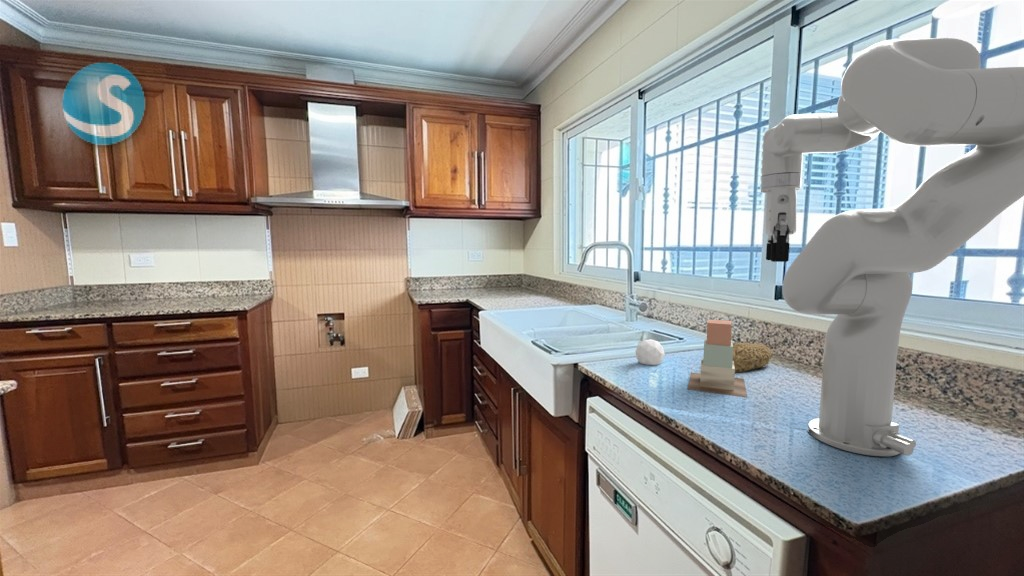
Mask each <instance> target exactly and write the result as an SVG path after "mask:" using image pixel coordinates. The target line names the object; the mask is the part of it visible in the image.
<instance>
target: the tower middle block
mask: <svg viewBox="0 0 1024 576" xmlns="http://www.w3.org/2000/svg"><path fill="white" fill-rule="evenodd" d="M702 358H703V365H706V366H716V367H725V368H732V363H733V341H732V340H731V346H724V345H713V344H707V338H704V342H703V357H702Z"/></svg>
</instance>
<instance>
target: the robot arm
mask: <svg viewBox="0 0 1024 576" xmlns="http://www.w3.org/2000/svg"><path fill="white" fill-rule="evenodd" d="M981 62H982V61H981V55H980V52H979V51H978V50H977V48H976V47H975V46H974V45H973V44H972V43H970V42H969V41H966V40H963V39H959V38H953V37H932V38H930V37H929V38H928V37H927V38H900V39H886V40H882V41H879V42H877V43H874V44H872V45H870V46H868V47H867V48H865V49H864V50H862V51H861V52H860V53H859V54H857V56H856V57H855V58H854V59H852V61H851V62H850V63H849V65H847V68H846V69H845V72H844V74H843V76H842V79H841V84H840V93H841V94H840V96H839V98H838V101H837V104H836V105H837V107H836V112H831V113H830V112H827V113H825V112H823V113H800V114H799V113H798V114H791V115H788V116H786V117H784V118H783V119H781V121H780V122H778V124H777V125H776V126H774V127H771V128H769V129H767V130H766V131H765V133H764V134H763V139H762V140H763V142H762V144H763V145H762V158H761V159H762V160H761V161H762V162H761V178H760V180H761V183H760V193H762V194H763V193H764V194H766V199H765V234H766V235H767V243H766V250H765V251H766V254H765V259H766V260H767V261H771V262H775V263H777V262H778V263H783V262H785V263H787V262H789V260H790V259H789V258H790V257H789V256H790V235H795V233H796V232H797V205H798V204H797V191H800V190H801V189H802V179H803V176H802V174H803V162H804V154H835V153H841V152H844V151H848V150H851V149H854V148H857V147H859V146H863V145H865V144H867V143H869V142H872V141H873V140H874V139H875V138H876V137H878V135H879V134H880V133H882V134H884V135H885V136H887V137H888V138H890V140H893V141H895V142H897V143H900V144H903V145H907V146H915V147H947V146H949V147H950V146H952V147H953V146H955V147H956V146H975V147H974V148H973V149H972V150H970V151H968V152H967V153H966V154H964V155H961V156H960V157H958V158H957V159H954V160H953V161H950V162H949V163H947V164H946V165H944V166H942V167H941V168H939V169H938V170H935V171H934V172H932V174H931V175H930V176H928V177H927V178H926V179H924V180H923V182H922V183H920V184H919V186H918V187H917V188H916V189H915V191H914V192H912V193H911V194H910V195H909V196H908V197H907V198H906V199H905V200H904V201H903V202H901V203H899V204H898V205H895V206H891V207H887V208H865V209H864V208H863V209H862V208H861V209H854V210H853V209H851V210H847V211H846V210H845V211H844V212H839V213H838V214H836V215H833V216H832V217H831V218H828V220H827V221H825V222H824V223H823V224H822V225H821V226H820V227H819V228H818V230H817V231H816V232H815V234H813V236H812V237H811V239H810V240H809V241H808V243H807V244H806V245H805V246H804V247H803V249H802V250H801V251H800V253H799V254H798V255H797V257H795V259H794V260H793V262H791V264H790V265H789V267H788V268H787V271H786V272H785V274H784V277H783V281H782V288H781V290H782V291H781V293H782V296H783V299H784V302H785V303H786V305H787V306H788V307H789V308H791V309H792V310H794V311H796V312H799V313H800V314H805V315H836V316H835V317H834V319H833V320H832V322H831V323H830V325H829V327H828V328H827V330H826V333H825V337H824V342H823V357H822V367H821V368H822V369H821V385H820V386H821V387H820V399H819V413H818V414H819V415H818V418H814V419H812V420H809V422H808V423H807V427H808V429H807V431H808V433H809V434H810V435H811V436H813V438H815V439H817V440H818V441H820V442H822V443H824V444H827V445H829V446H830V447H833V448H836V449H838V450H842V451H846V452H849V453H853V454H859V455H865V456H871V457H893V456H897V455H899V454H902V455H903V456H908V457H909V456H911V455H912V454H913V452H914V449H915V447H916V446H917V443H916V440H914V439H912V438H910V437H908V436H903V435H901V434H900V433H899V428H900V425H899V424H898V423H896V422H893V421H892V420H893V409H894V408H893V407H894V399H895V398H894V396H895V387H896V386H895V385H896V373H897V372H896V371H897V361H898V360H897V359H898V353H899V343H900V336H901V327H902V323H903V320H904V317H905V314H906V310H907V308H908V305H909V303H910V299H911V297H912V292H913V280H912V279H913V278H912V277H911V275H910V274H915V273H921V272H926V271H929V270H931V269H933V268H934V267H936V266H938V265H939V264H941V262H943V261H944V260H946V259H948V257H949V256H951V255H952V254H953V253H955V251H957V250H958V249H959V248H960V247H962V246H963V245H964V244H965V243H967V242H968V241H969V240H971V238H973V237H974V236H976V234H978V233H979V232H980V231H981V230H983V229H984V228H985V227H986V226H988V225H989V224H990V223H991V221H993V220H994V219H995V218H996V217H998V216H999V215H1000V214H1001V213H1002V212H1004V211H1005V210H1006V209H1008V208H1009V207H1010V206H1012V205H1013V204H1014V203H1016V202H1017V201H1019V200H1020V199H1021V198H1023V197H1024V66H1008V67H990V68H989V67H987V68H981V64H982V63H981Z"/></svg>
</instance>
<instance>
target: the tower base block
mask: <svg viewBox="0 0 1024 576" xmlns="http://www.w3.org/2000/svg"><path fill="white" fill-rule="evenodd" d="M703 358H704V357H701V362H700V386H702V387H710V388H718V389H725V390H733V391H734V378H736V376H735V375H736V374H735V373H736V372H735V367H734V361H733V363H732V368H725V367H716V366H706V365H703Z"/></svg>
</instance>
